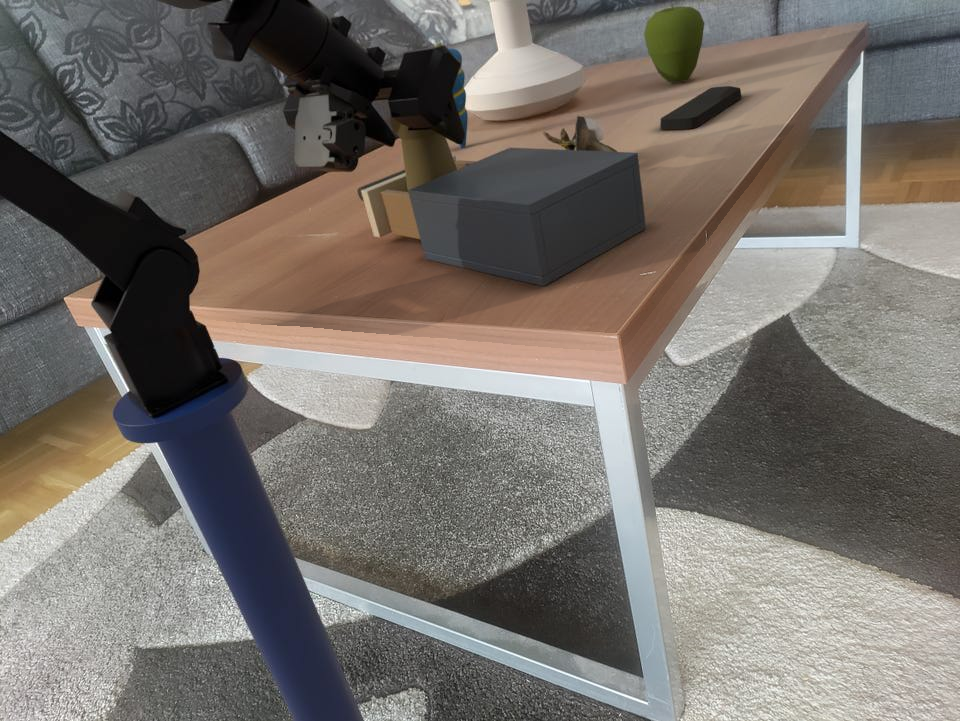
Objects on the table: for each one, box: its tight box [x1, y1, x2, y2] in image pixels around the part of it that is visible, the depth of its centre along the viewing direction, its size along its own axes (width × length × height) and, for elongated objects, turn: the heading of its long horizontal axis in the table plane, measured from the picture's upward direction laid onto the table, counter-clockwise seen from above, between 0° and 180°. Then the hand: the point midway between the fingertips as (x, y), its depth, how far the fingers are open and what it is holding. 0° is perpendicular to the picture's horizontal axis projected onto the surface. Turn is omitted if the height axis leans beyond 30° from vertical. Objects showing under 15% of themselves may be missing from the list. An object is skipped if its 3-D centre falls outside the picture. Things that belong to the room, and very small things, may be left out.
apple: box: [643, 2, 705, 84], centre depth 115 cm, size 9×8×12 cm
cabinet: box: [408, 147, 647, 287], centre depth 66 cm, size 16×13×7 cm
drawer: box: [357, 155, 478, 240], centre depth 75 cm, size 19×11×5 cm, turn 41°
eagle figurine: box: [542, 115, 618, 152], centre depth 83 cm, size 8×7×9 cm
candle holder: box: [464, 0, 586, 122], centre depth 119 cm, size 20×20×19 cm
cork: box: [389, 113, 457, 190], centre depth 73 cm, size 6×6×11 cm
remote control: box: [659, 85, 742, 131], centre depth 97 cm, size 5×2×15 cm
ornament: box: [434, 37, 469, 149], centre depth 106 cm, size 5×5×15 cm
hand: (426, 141), depth 72 cm, fingers open, 9 cm apart
